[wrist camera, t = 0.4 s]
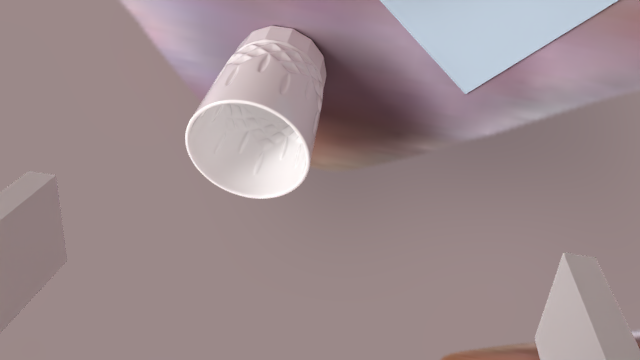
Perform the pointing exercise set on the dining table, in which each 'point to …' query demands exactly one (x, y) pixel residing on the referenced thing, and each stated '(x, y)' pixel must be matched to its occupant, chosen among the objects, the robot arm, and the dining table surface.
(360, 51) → the dining table surface
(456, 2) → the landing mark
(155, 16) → the dining table surface
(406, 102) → the dining table surface
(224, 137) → the white cup
